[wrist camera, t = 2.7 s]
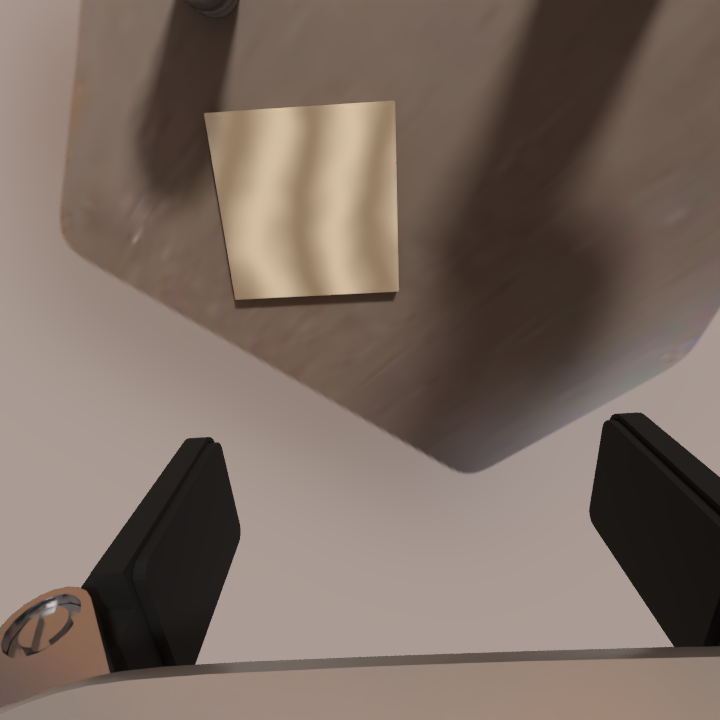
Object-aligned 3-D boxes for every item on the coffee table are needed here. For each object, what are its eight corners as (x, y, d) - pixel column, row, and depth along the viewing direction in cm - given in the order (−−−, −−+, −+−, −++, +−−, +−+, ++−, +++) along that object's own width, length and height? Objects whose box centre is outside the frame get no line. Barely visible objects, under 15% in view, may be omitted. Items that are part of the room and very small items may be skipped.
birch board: (394, 103, 36) (394, 100, 35) (397, 288, 42) (398, 291, 41) (208, 115, 37) (203, 113, 36) (238, 296, 43) (235, 299, 42)
